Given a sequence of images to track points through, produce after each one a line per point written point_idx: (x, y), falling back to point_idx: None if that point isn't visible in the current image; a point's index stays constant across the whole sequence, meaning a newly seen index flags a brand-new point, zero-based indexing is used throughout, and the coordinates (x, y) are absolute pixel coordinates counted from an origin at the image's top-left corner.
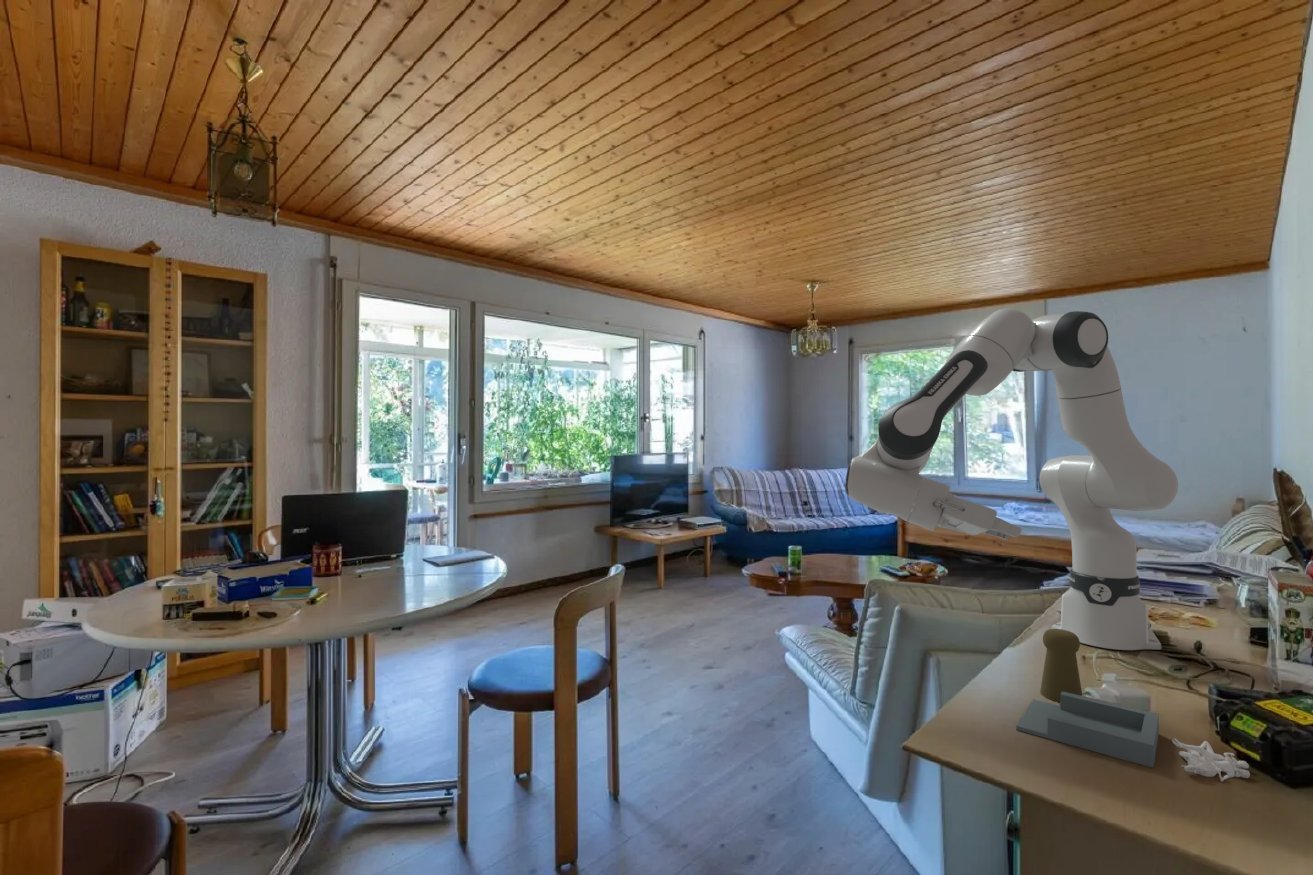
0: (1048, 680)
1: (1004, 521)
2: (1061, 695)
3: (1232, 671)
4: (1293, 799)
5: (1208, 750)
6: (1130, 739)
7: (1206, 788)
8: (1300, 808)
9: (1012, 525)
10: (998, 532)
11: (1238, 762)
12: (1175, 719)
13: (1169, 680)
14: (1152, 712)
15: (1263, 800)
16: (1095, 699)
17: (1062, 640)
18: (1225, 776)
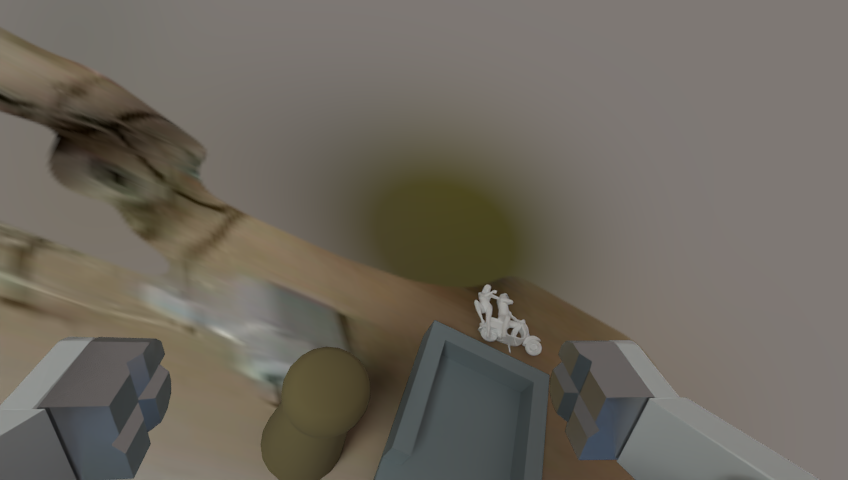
0: (328, 460)
1: (758, 451)
2: (410, 454)
3: (129, 120)
4: (526, 284)
5: (481, 307)
6: (546, 398)
7: (550, 351)
8: (541, 288)
9: (666, 390)
10: (57, 451)
11: (488, 291)
12: (360, 290)
13: (182, 217)
14: (433, 326)
15: (544, 310)
16: (412, 394)
17: (369, 393)
18: (516, 319)
